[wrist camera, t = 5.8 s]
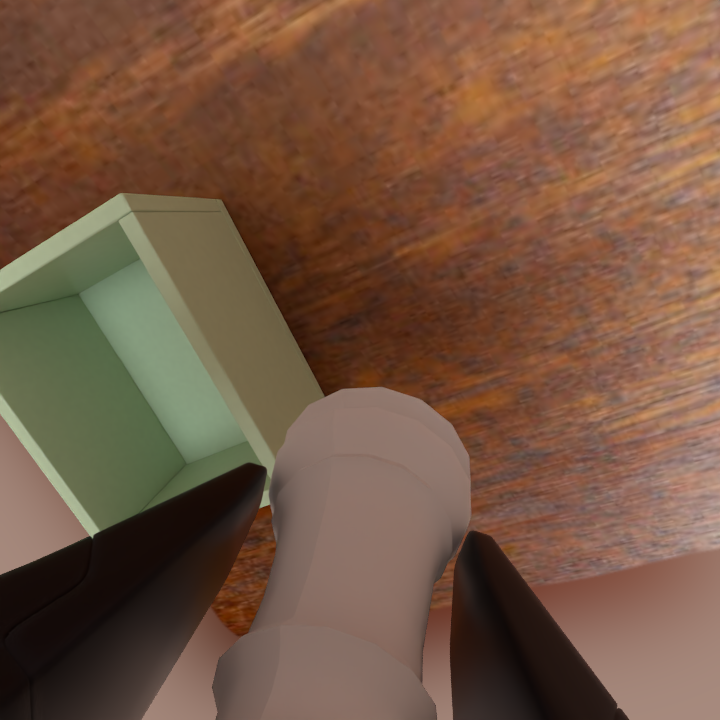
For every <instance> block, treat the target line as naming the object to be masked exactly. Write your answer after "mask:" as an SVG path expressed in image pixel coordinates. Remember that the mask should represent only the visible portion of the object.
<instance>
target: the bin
mask: <svg viewBox="0 0 720 720" xmlns="http://www.w3.org/2000/svg"><path fill="white" fill-rule="evenodd" d="M324 397H325V396H324V394H323V392H322V390H321V388H320V386H319V384H318V383H317V381H316V379H315V377H314V375H313V373H312V371H311V369H310V367H309V365H308V363H307V362H306V360H305V358H304V356H303V354H302V352H301V350H300V348H299V346H298V344H297V343H296V341H295V339H294V337H293V335H292V333H291V331H290V329H289V327H288V325H287V324H286V322H285V320H284V318H283V316H282V314H281V312H280V310H279V308H278V306H277V305H276V303H275V301H274V299H273V297H272V295H271V293H270V291H269V289H268V287H267V286H266V284H265V282H264V280H263V278H262V276H261V274H260V272H259V270H258V268H257V267H256V265H255V263H254V261H253V259H252V257H251V255H250V253H249V251H248V249H247V248H246V246H245V244H244V242H243V240H242V238H241V236H240V234H239V232H238V230H237V228H236V227H235V225H234V223H233V221H232V219H231V217H230V215H229V213H228V211H227V209H226V208H225V206H224V204H223V202H222V200H221V199H206V198H191V197H176V196H160V195H145V194H129V193H120V194H118V195H117V196H115V197H113V198H112V199H110V200H109V201H107V202H106V203H104V204H103V205H101V206H99V207H98V208H96V209H95V210H93V211H92V212H90V213H88V214H87V215H85V216H84V217H82V218H81V219H79V220H77V221H76V222H74V223H73V224H71V225H70V226H68V227H66V228H65V229H63V230H62V231H60V232H59V233H57V234H56V235H54V236H52V237H51V238H49V239H48V240H46V241H45V242H43V243H41V244H40V245H38V246H37V247H35V248H34V249H32V250H30V251H29V252H27V253H26V254H24V255H23V256H21V257H19V258H18V259H16V260H15V261H13V262H12V263H10V264H8V265H7V266H5V267H4V268H2V269H1V270H0V414H1V415H2V417H3V418H4V419H5V421H6V422H7V423H8V425H9V426H10V428H11V429H12V430H13V432H14V433H15V434H16V436H17V437H18V438H19V440H20V441H21V442H22V444H23V445H24V446H25V448H26V449H27V450H28V452H29V453H30V455H31V456H32V458H33V459H34V460H35V462H36V463H37V464H38V466H39V467H40V468H41V470H42V471H43V472H44V474H45V475H46V477H47V478H48V479H49V480H50V482H51V483H52V485H53V486H54V487H55V489H56V490H57V491H58V493H59V494H60V496H61V497H62V498H63V500H64V501H65V502H66V504H67V505H68V506H69V508H70V509H71V510H72V512H73V513H74V515H75V516H76V517H77V519H78V520H79V521H80V523H81V524H82V525H83V527H84V528H85V530H86V531H87V532H88V533H89V535H90V536H91V537H92V539H93V535H94V534H95V533H97V532H100V531H102V530H104V529H106V528H108V527H110V526H112V525H115V524H117V523H119V522H121V521H123V520H125V519H127V518H129V517H132V516H134V515H136V514H138V513H140V512H142V511H144V510H147V509H149V508H151V507H153V506H155V505H157V504H159V503H161V502H164V501H166V500H168V499H170V498H172V497H174V496H176V495H179V494H181V493H183V492H185V491H187V490H189V489H191V488H194V487H196V486H198V485H200V484H202V483H204V482H206V481H208V480H211V479H213V478H215V477H217V476H219V475H221V474H223V473H226V472H228V471H230V470H232V469H234V468H236V467H238V466H240V465H243V464H245V463H247V462H252V463H255V464H258V465H261V466H264V467H266V468H267V476H266V481H265V486H264V491H263V496H262V501H261V504H260V507H259V508H261V507H264V506H267V505H270V501H269V496H268V494H269V486H270V481H271V477H272V472H273V468H274V464H275V460H276V456H277V452H278V450H279V449H280V448H281V447H282V446H283V445H284V442H285V438H286V434H287V430H288V429H289V428H290V427H291V425H292V424H293V423H294V422H295V421H296V420H297V418H298V417H299V416H300V415H301V414H302V412H303V411H304V410H305V409H306V408H307V406H308V405H309V404H311V403H314V402H316V401H318V400H320V399H322V398H324Z"/></svg>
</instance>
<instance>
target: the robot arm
mask: <svg viewBox="0 0 720 720" xmlns="http://www.w3.org/2000/svg"><path fill="white" fill-rule="evenodd" d="M266 476H267V468H266V467H264V466H261V465H258V464H255V463H252V462H247V463H245V464H243V465H240V466H238V467H236V468H234V469H232V470H230V471H228V472H226V473H223V474H221V475H219V476H217V477H215V478H213V479H211V480H208V481H206V482H204V483H202V484H200V485H198V486H196V487H194V488H191V489H189V490H187V491H185V492H183V493H181V494H179V495H176V496H174V497H172V498H170V499H168V500H166V501H164V502H161V503H159V504H157V505H155V506H153V507H151V508H149V509H147V510H144V511H142V512H140V513H138V514H136V515H134V516H132V517H129V518H127V519H125V520H123V521H121V522H119V523H117V524H115V525H112V526H110V527H108V528H106V529H104V530H102V531H100V532H97V533H95V534H94V535H93V539H92V537H91V536H89V537H86V538H84V539H82V540H80V541H78V542H76V543H74V544H72V545H69V546H67V547H65V548H63V549H61V550H58V551H56V552H54V553H52V554H49V555H47V556H45V557H42V558H40V559H38V560H36V561H33V562H31V563H29V564H26V565H24V566H21V567H19V568H16V569H14V570H11V571H9V572H6V573H4V574H2V575H0V720H141V719H142V718H143V716H144V714H145V712H146V711H147V710H148V708H149V706H150V704H151V703H152V701H153V700H154V698H155V696H156V695H157V693H158V691H159V690H160V688H161V686H162V685H163V683H164V681H165V680H166V678H167V676H168V675H169V673H170V672H171V670H172V668H173V666H174V665H175V663H176V662H177V660H178V658H179V657H180V655H181V653H182V652H183V650H184V648H185V647H186V645H187V643H188V642H189V640H190V639H191V637H192V635H193V634H194V631H195V630H196V629H197V627H198V625H199V624H200V622H201V620H202V619H203V617H204V615H205V614H206V612H207V610H208V609H209V607H210V606H211V604H212V602H213V601H214V599H215V597H216V596H217V594H218V592H219V591H220V589H221V587H222V585H223V584H224V582H225V580H226V578H227V576H228V574H229V572H230V570H231V568H232V566H233V564H234V562H235V560H236V558H237V556H238V553H239V551H240V549H241V547H242V545H243V543H244V540H245V538H246V536H247V534H248V532H249V529H250V527H251V525H252V523H253V521H254V519H255V516H256V514H257V512H258V510H259V507H260V504H261V501H262V496H263V491H264V486H265V481H266ZM450 667H451V685H452V686H451V687H452V706H453V720H629V719H628V717H627V716H626V715H625V713H624V712H623V711H622V710H621V709H620V708H618V709H617V703H616V702H615V701H614V699H613V698H612V696H611V695H610V694H609V692H608V691H607V690H606V689H605V687H604V686H603V684H602V683H601V682H600V680H599V679H598V678H597V676H596V675H595V674H594V672H593V671H592V670H591V668H590V667H589V666H588V664H587V663H586V662H585V660H584V659H583V658H582V656H581V655H580V654H579V652H578V651H577V650H576V648H575V647H574V646H573V644H572V643H571V642H570V640H569V639H568V638H567V636H566V635H565V634H564V632H563V631H562V630H561V628H560V627H559V626H558V624H557V623H556V622H555V621H554V619H553V618H552V616H551V615H550V614H549V612H548V611H547V610H546V608H545V607H544V606H543V605H542V603H541V602H540V600H539V599H538V598H537V596H536V595H535V594H534V592H533V591H532V590H531V588H530V587H529V586H528V584H527V583H526V582H525V580H524V579H523V578H522V576H521V575H520V574H519V572H518V571H517V570H516V568H515V567H514V566H513V564H512V563H511V562H510V560H509V559H508V558H507V556H506V555H505V554H504V552H503V551H502V550H501V548H500V547H499V546H498V544H497V543H496V542H495V540H494V539H493V538H492V537H491V536H489V535H487V534H483V533H480V532H477V531H470V532H469V533H468V535H467V537H466V539H465V542H464V544H463V546H462V549H461V551H460V553H459V556H458V558H457V561H456V564H455V569H454V582H453V600H452V618H451V637H450Z"/></svg>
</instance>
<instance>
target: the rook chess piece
mask: <svg viewBox="0 0 720 720" xmlns="http://www.w3.org/2000/svg"><path fill="white" fill-rule="evenodd" d="M470 492H471V479H470V458H469V455H468V453H467V451H466V449H465V448H464V446H463V444H462V442H461V440H460V438H459V436H458V435H457V433H456V431H455V429H454V427H453V425H452V424H451V423H450V422H448V421H447V420H446V419H445V418H443V417H442V416H441V415H440V414H438V413H437V412H436V411H435V410H433V409H432V408H431V407H430V406H429V405H427V404H426V403H425V402H424V401H422V400H421V399H418V398H415V397H412V396H409V395H406V394H403V393H399V392H396V391H393V390H390V389H387V388H384V387H370V388H352V389H341V390H339V391H337V392H335V393H333V394H330V395H328V396H326V397H324V398H322V399H320V400H318V401H316V402H314V403H311V404H309V405H308V406H307V408H306V409H305V410H304V411H303V412H302V414H301V415H300V416H299V417H298V418H297V420H296V421H295V422H294V423H293V424H292V425H291V427H290V428H289V429H288V430H287V434H286V438H285V442H284V445H283V446H282V447H281V448H280V449H279V450H278V452H277V456H276V460H275V464H274V468H273V472H272V477H271V481H270V486H269V494H268V496H269V501H270V505H271V510H272V515H273V517H272V525H273V530H274V535H275V539H276V554H275V557H274V561H273V565H272V569H271V572H270V576H269V580H268V583H267V587H266V591H265V595H264V598H263V600H262V602H261V605H260V607H259V609H258V611H257V614H256V616H255V618H254V621H253V623H252V625H251V628H250V630H249V632H248V634H246V635H244V636H242V637H241V638H240V639H239V640H238V641H237V642H236V643H235V644H234V645H233V646H232V647H231V648H229V649H228V650H227V651H226V652H225V653H224V654H223V655H222V656H221V657H220V658H219V660H218V665H217V669H216V673H215V677H214V681H213V686H212V689H213V693H214V698H215V702H216V707H217V711H218V713H217V716H216V720H437V713H436V705H435V703H434V702H433V700H432V699H431V697H430V696H429V694H428V693H427V691H426V690H425V688H424V687H423V685H422V662H423V660H422V659H423V657H422V656H423V647H424V640H425V634H426V628H427V622H428V616H429V610H430V604H431V597H432V591H433V585H434V583H435V582H437V581H438V580H439V579H440V578H441V576H442V574H443V572H444V570H445V568H446V565H447V563H448V562H449V561H450V560H452V559H453V558H454V556H455V554H456V552H457V550H458V548H459V545H460V543H461V541H462V539H463V537H464V535H465V533H466V530H467V528H468V525H469V522H470V519H471V498H470Z"/></svg>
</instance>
